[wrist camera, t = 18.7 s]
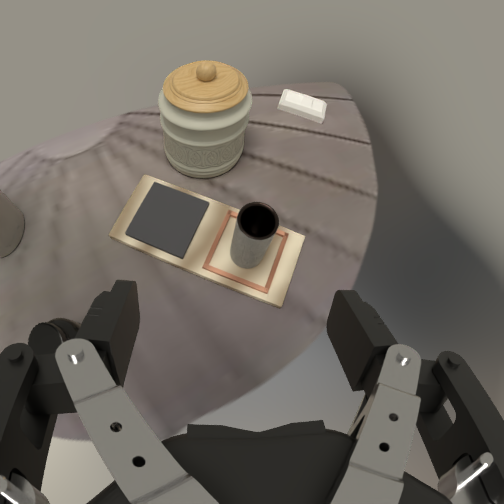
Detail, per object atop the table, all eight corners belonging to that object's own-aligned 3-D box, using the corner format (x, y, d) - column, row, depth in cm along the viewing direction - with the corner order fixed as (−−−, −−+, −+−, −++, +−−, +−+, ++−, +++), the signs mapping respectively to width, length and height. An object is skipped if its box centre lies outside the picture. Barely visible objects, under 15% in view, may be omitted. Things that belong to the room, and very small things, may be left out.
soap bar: (321, 124, 55) (325, 115, 53) (276, 110, 55) (279, 100, 52) (324, 109, 57) (328, 101, 54) (282, 95, 57) (284, 86, 54)
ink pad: (126, 235, 41) (124, 233, 40) (155, 184, 44) (154, 181, 43) (182, 259, 41) (182, 257, 40) (209, 204, 44) (209, 202, 43)
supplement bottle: (94, 317, 37) (56, 300, 26) (118, 361, 36) (85, 360, 25) (58, 340, 35) (12, 330, 24) (80, 384, 34) (38, 389, 23)
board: (110, 238, 41) (107, 233, 40) (145, 178, 45) (143, 172, 44) (279, 308, 42) (282, 305, 40) (302, 239, 46) (306, 234, 44)
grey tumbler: (249, 275, 41) (262, 248, 32) (222, 254, 42) (228, 221, 32) (269, 251, 43) (287, 218, 33) (243, 231, 43) (254, 193, 34)
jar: (233, 117, 52) (245, 37, 36) (251, 173, 48) (272, 91, 32) (161, 127, 49) (152, 45, 33) (169, 187, 46) (157, 103, 29)
